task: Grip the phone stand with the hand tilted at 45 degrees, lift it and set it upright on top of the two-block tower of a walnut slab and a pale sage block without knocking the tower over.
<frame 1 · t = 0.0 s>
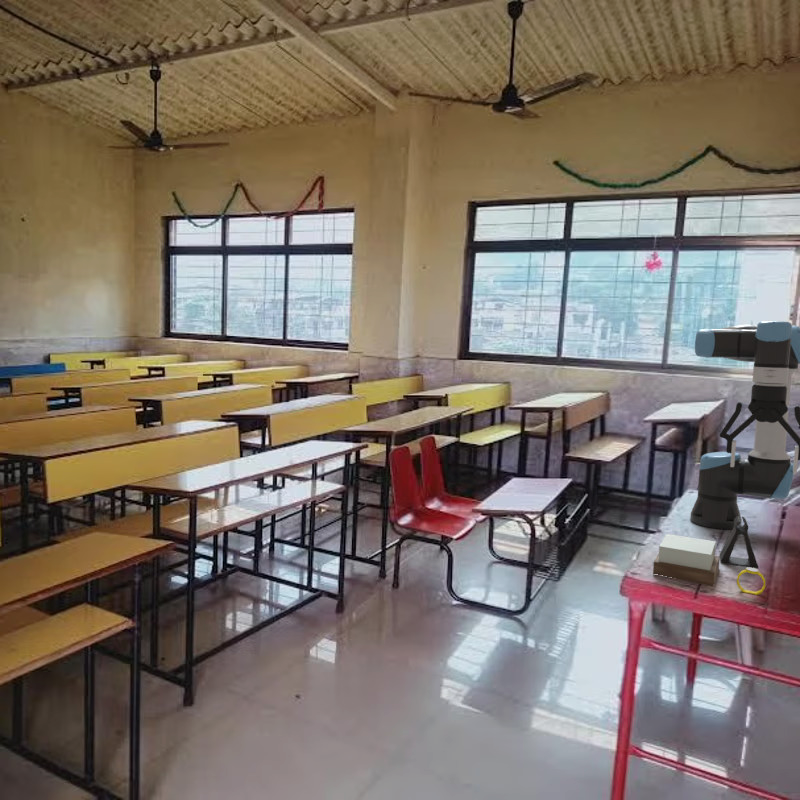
hand: (762, 469, 162), 28 cm above the table, tool pointing down, fingers open, 13 cm apart
watch: (750, 593, 156), on the table
upper block: (686, 558, 168), point 3 cm above the table, touching lower block
phone stand: (738, 562, 177), on the table
lower block: (686, 573, 169), on the table, touching upper block
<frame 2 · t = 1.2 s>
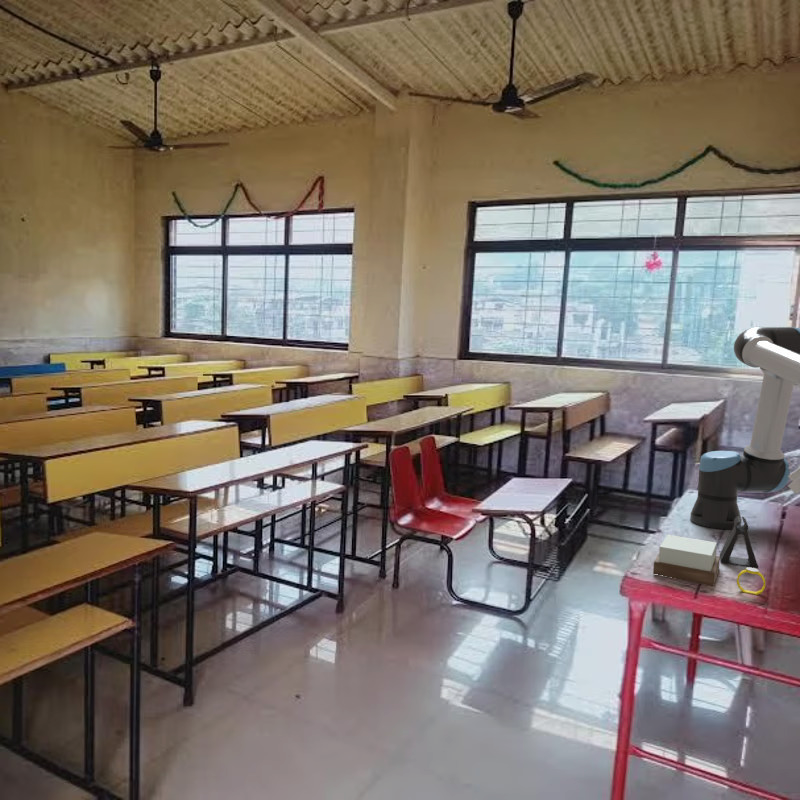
hand: (791, 485, 169), 23 cm above the table, tool tilted 45°, fingers open, 13 cm apart
nothing on the table moved.
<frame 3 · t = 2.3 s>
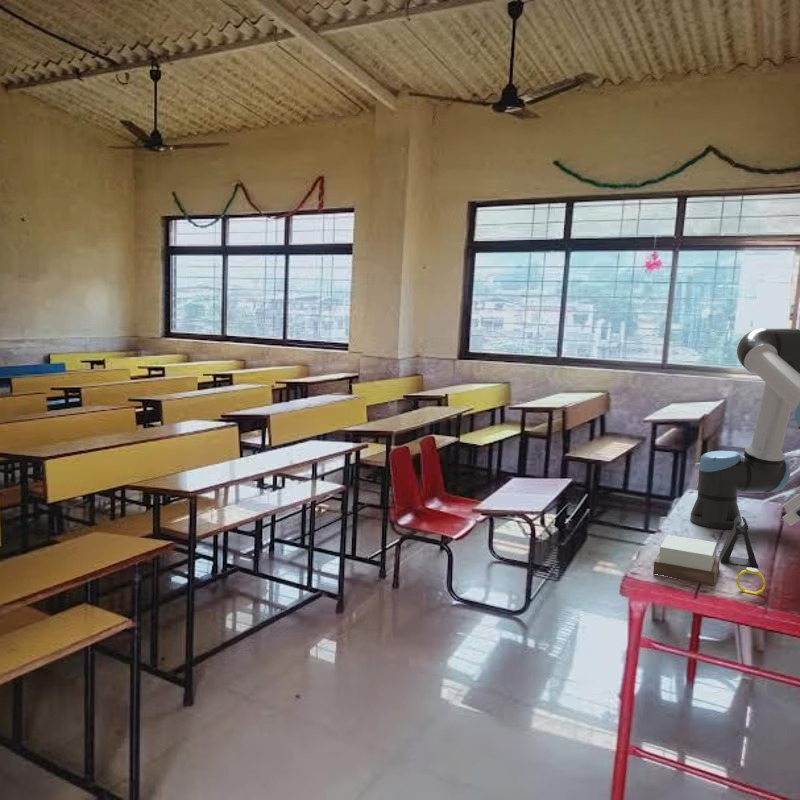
hand: (786, 515, 170), 15 cm above the table, tool tilted 45°, fingers open, 13 cm apart
nothing on the table moved.
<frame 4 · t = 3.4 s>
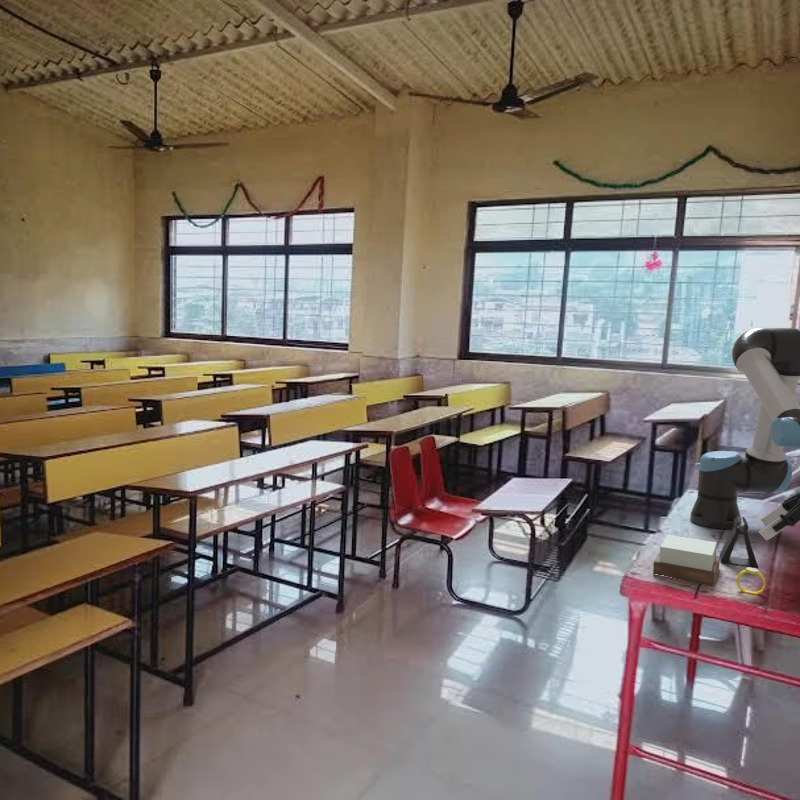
hand: (763, 529, 172), 10 cm above the table, tool tilted 45°, fingers open, 13 cm apart
nothing on the table moved.
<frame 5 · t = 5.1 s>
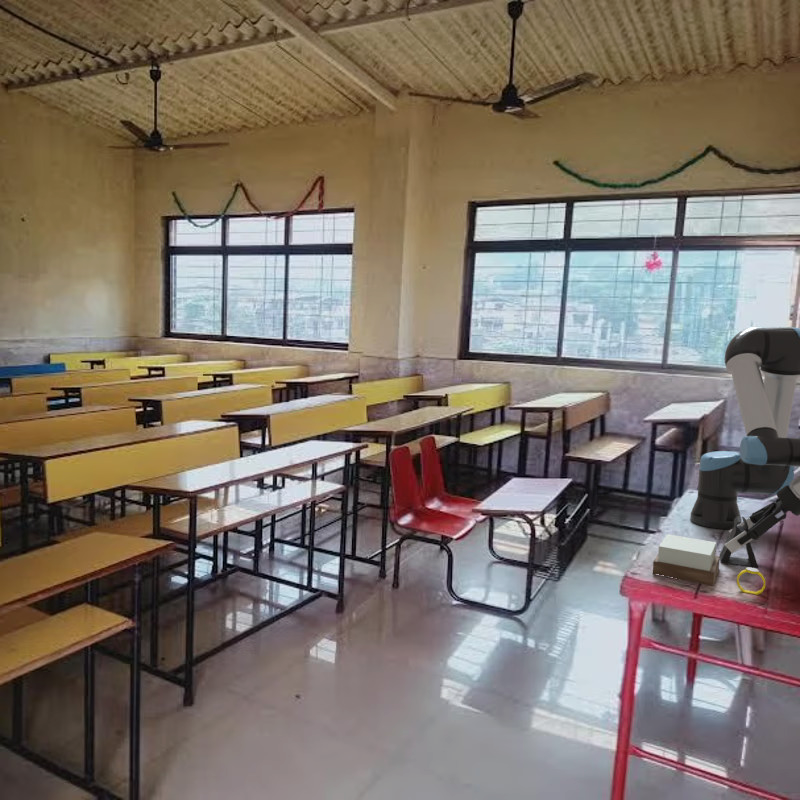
hand: (730, 541, 177), 5 cm above the table, tool tilted 45°, fingers open, 13 cm apart
upper block: (686, 559, 168), point 3 cm above the table
lower block: (686, 573, 169), on the table
everything else where it was.
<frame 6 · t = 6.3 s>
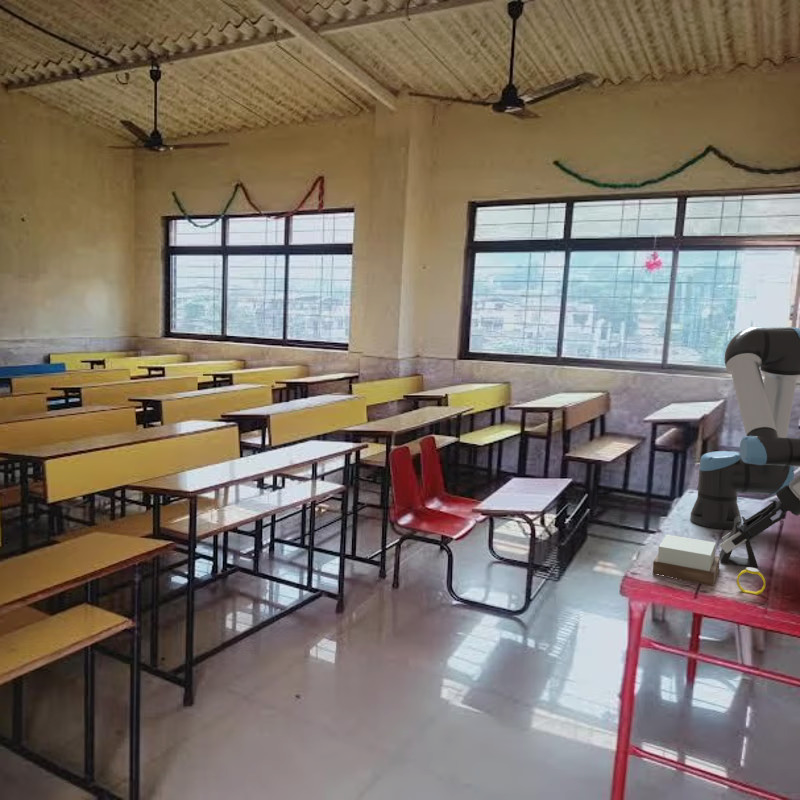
hand: (724, 545, 178), 4 cm above the table, tool tilted 45°, fingers closed on phone stand, 6 cm apart
upper block: (686, 559, 168), point 3 cm above the table, touching lower block
phone stand: (738, 562, 177), on the table, touching gripper
lower block: (686, 573, 169), on the table, touching upper block
everything else where it was.
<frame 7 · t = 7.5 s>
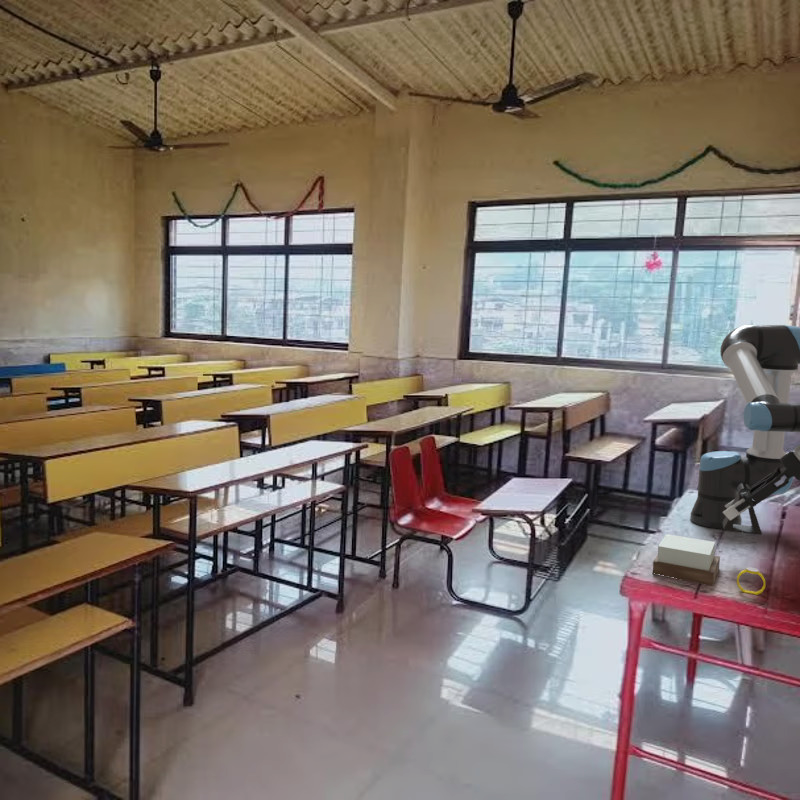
hand: (727, 512, 177), 13 cm above the table, tool tilted 45°, fingers closed on phone stand, 6 cm apart
phone stand: (741, 530, 175), point 9 cm above the table, touching gripper
everything else where it was.
when the fingers open (13 cm above the table, at t = 11.9 s): phone stand drops 2 cm, resting on upper block.
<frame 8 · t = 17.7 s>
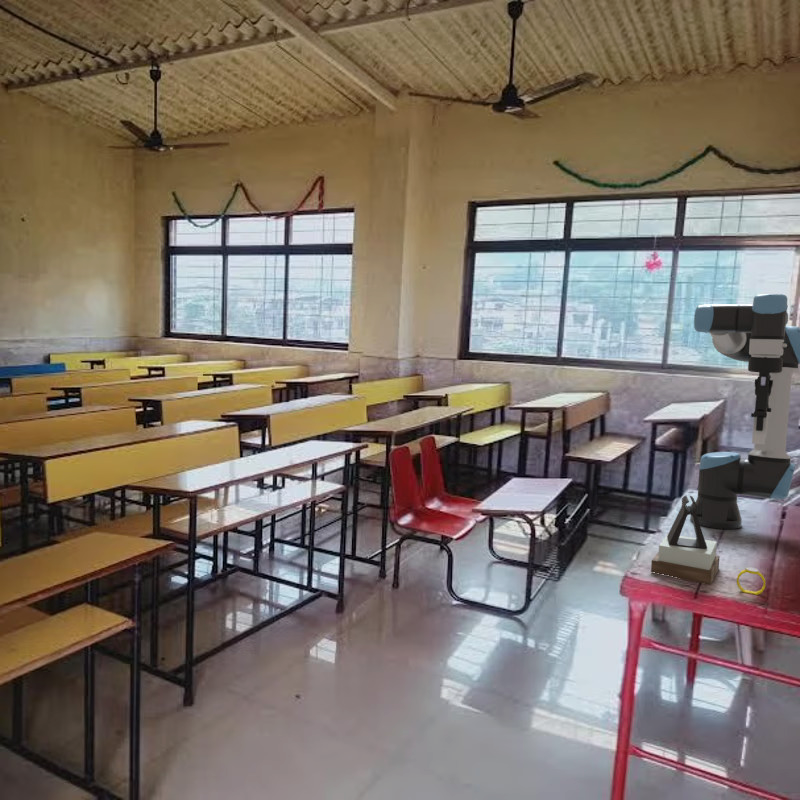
hand: (759, 440, 166), 35 cm above the table, tool pointing down, fingers open, 13 cm apart
upper block: (687, 558, 169), point 3 cm above the table, touching phone stand, lower block
phone stand: (686, 544, 168), point 7 cm above the table, touching upper block
everything else where it was.
at the end: phone stand inside the target area on the upper block (0.5 cm from its centre), point 3.9 cm above the upper block's base; upper block 0.4 cm off-centre on the lower block, point 4.0 cm above the lower block's base; phone stand tilted 2° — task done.
